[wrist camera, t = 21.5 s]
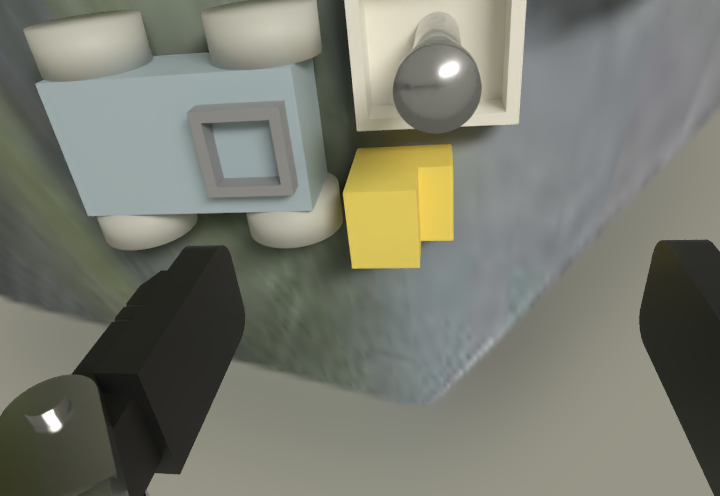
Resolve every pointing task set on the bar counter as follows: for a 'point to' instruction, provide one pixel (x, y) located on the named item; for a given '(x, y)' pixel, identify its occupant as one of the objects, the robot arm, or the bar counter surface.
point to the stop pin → (437, 78)
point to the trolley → (192, 123)
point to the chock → (398, 203)
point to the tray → (396, 38)
